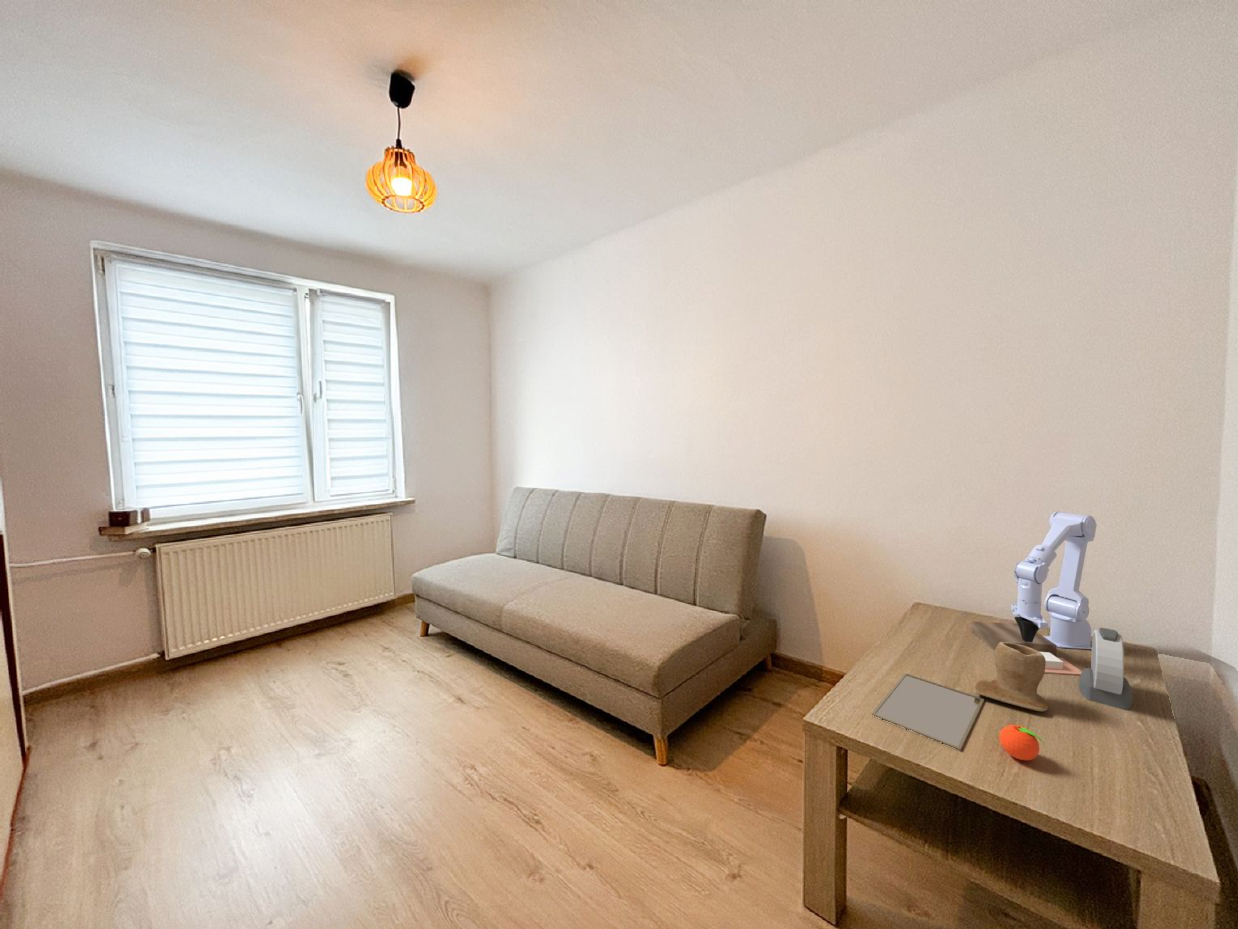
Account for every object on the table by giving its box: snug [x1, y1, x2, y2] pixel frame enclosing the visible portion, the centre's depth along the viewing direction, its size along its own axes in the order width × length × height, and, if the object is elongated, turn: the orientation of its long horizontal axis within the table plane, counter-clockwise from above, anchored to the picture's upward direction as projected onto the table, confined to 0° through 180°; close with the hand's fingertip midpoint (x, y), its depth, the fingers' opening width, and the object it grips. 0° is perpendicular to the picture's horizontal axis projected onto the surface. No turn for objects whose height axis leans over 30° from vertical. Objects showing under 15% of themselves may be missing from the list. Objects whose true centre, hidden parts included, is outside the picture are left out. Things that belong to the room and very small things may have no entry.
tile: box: [1040, 652, 1063, 670], centre depth 144 cm, size 9×6×2 cm, turn 78°
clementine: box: [998, 724, 1047, 761], centre depth 106 cm, size 8×7×7 cm
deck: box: [971, 621, 1057, 657], centre depth 158 cm, size 16×16×4 cm
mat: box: [1044, 657, 1083, 676], centre depth 144 cm, size 18×10×1 cm, turn 78°
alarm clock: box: [1078, 627, 1134, 711], centre depth 128 cm, size 16×10×18 cm, turn 137°
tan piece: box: [973, 642, 1049, 712], centre depth 127 cm, size 15×12×15 cm
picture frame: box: [870, 672, 985, 752], centre depth 125 cm, size 19×1×28 cm
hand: (1027, 641), depth 150 cm, fingers closed
